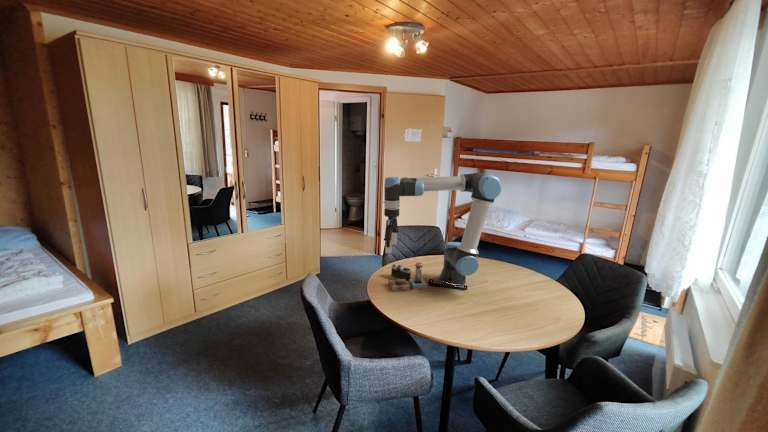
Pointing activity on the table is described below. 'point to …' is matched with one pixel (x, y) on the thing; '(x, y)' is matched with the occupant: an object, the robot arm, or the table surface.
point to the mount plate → (417, 286)
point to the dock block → (399, 285)
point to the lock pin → (418, 273)
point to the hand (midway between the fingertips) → (391, 248)
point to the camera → (400, 272)
